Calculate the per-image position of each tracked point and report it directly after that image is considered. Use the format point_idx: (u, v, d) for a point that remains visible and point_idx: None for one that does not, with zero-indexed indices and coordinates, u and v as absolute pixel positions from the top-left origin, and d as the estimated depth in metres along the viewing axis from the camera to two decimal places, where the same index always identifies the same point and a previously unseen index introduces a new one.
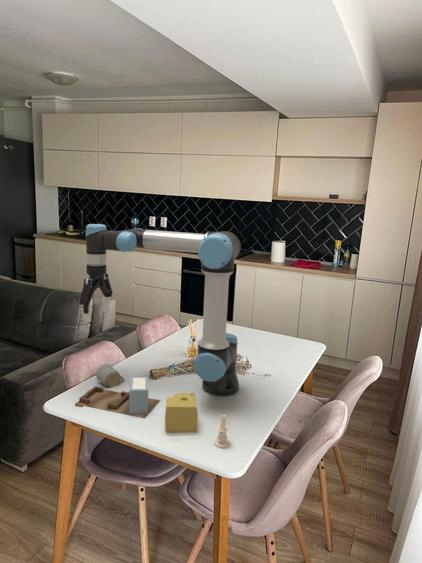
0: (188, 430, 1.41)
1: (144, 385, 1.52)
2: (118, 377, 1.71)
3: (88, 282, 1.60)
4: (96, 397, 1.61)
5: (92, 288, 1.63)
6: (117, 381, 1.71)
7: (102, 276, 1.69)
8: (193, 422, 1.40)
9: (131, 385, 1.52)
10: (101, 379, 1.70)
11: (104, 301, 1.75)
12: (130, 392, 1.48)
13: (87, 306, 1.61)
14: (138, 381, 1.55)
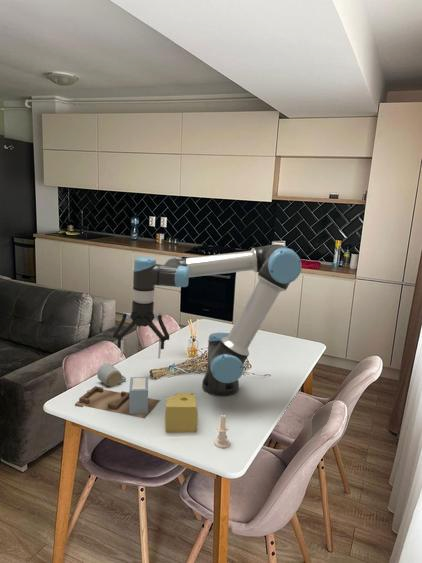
0: (188, 430, 1.41)
1: (144, 385, 1.52)
2: (119, 377, 1.71)
3: None
4: (96, 397, 1.61)
5: (130, 324, 1.52)
6: (118, 381, 1.71)
7: (149, 316, 1.52)
8: (193, 422, 1.40)
9: (131, 385, 1.52)
10: (102, 379, 1.70)
11: None
12: (130, 392, 1.48)
13: (119, 340, 1.53)
14: (138, 381, 1.55)
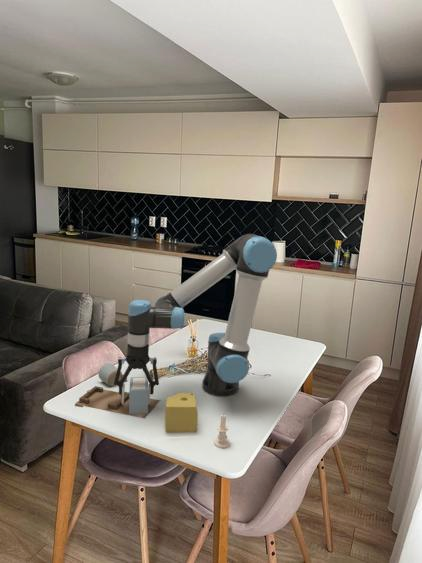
0: (188, 430, 1.41)
1: (144, 385, 1.52)
2: (120, 376, 1.72)
3: (118, 362, 1.50)
4: (96, 397, 1.61)
5: (127, 369, 1.51)
6: (119, 380, 1.72)
7: (145, 358, 1.51)
8: (193, 422, 1.40)
9: (131, 385, 1.52)
10: (103, 378, 1.70)
11: None
12: (130, 392, 1.48)
13: (120, 387, 1.52)
14: (138, 381, 1.55)
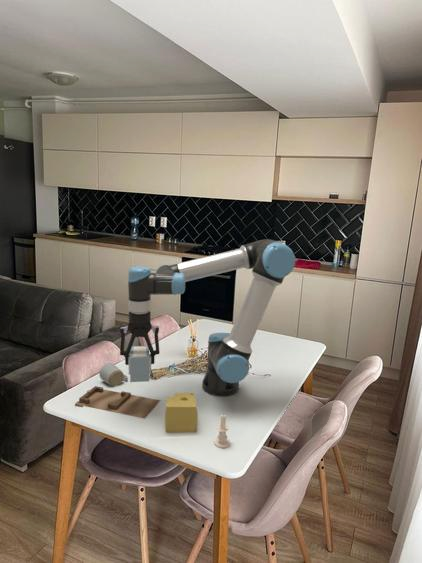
0: (188, 430, 1.41)
1: (145, 353, 1.50)
2: (121, 376, 1.72)
3: None
4: (96, 397, 1.61)
5: (131, 338, 1.49)
6: (120, 380, 1.72)
7: (147, 325, 1.49)
8: (193, 422, 1.40)
9: (132, 353, 1.49)
10: (104, 378, 1.71)
11: None
12: (131, 359, 1.46)
13: (126, 357, 1.50)
14: (138, 349, 1.53)
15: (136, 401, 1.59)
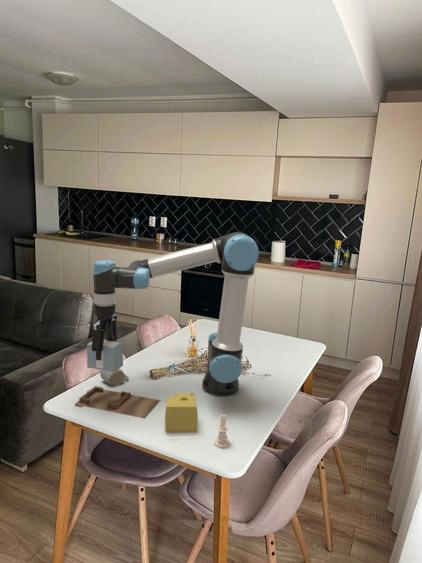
0: (188, 430, 1.41)
1: (112, 342, 1.56)
2: (122, 376, 1.72)
3: (97, 328, 1.47)
4: (96, 397, 1.61)
5: (102, 332, 1.51)
6: (121, 380, 1.72)
7: (111, 315, 1.55)
8: (193, 422, 1.40)
9: (105, 346, 1.52)
10: (105, 378, 1.71)
11: None
12: (114, 350, 1.51)
13: (100, 353, 1.51)
14: None
15: (136, 401, 1.59)
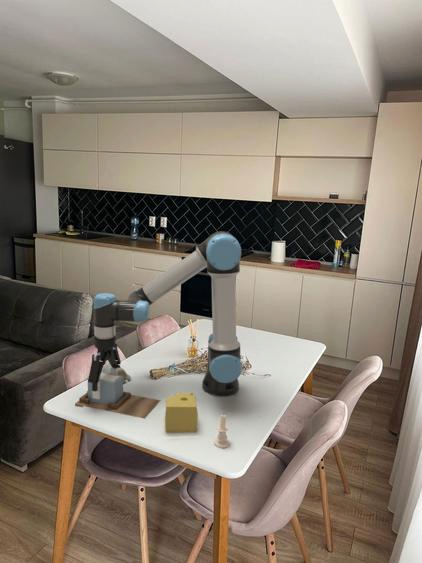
0: (188, 430, 1.41)
1: (112, 375, 1.59)
2: (124, 375, 1.73)
3: (96, 358, 1.49)
4: None
5: (101, 363, 1.52)
6: (123, 379, 1.73)
7: (111, 347, 1.57)
8: (193, 422, 1.40)
9: (105, 380, 1.55)
10: None
11: (112, 373, 1.63)
12: (115, 384, 1.54)
13: (96, 384, 1.50)
14: (101, 376, 1.58)
15: (136, 401, 1.59)
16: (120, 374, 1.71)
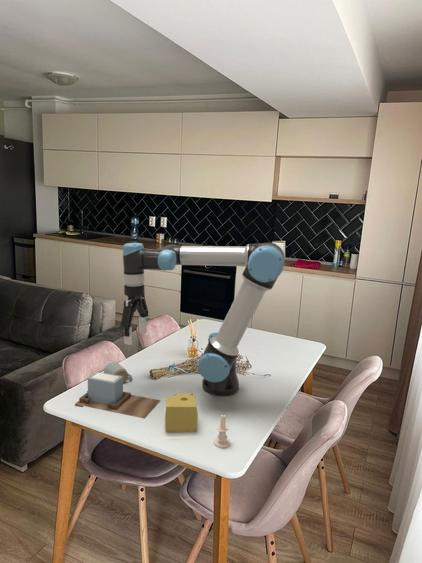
0: (188, 430, 1.41)
1: (112, 375, 1.59)
2: (125, 375, 1.73)
3: (128, 304, 1.54)
4: None
5: (132, 310, 1.57)
6: (124, 379, 1.73)
7: (140, 296, 1.62)
8: (193, 422, 1.40)
9: (105, 380, 1.55)
10: None
11: (141, 322, 1.69)
12: (115, 384, 1.54)
13: (128, 329, 1.55)
14: (101, 376, 1.58)
15: (136, 401, 1.59)
16: (121, 374, 1.72)
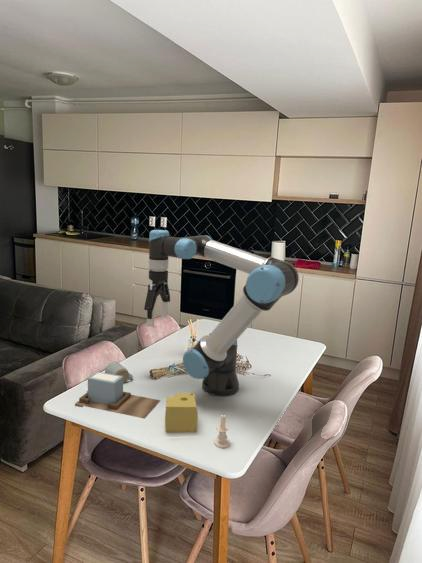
0: (188, 430, 1.41)
1: (112, 375, 1.59)
2: (126, 375, 1.73)
3: (152, 288, 1.61)
4: None
5: (155, 294, 1.64)
6: (125, 378, 1.74)
7: (163, 281, 1.69)
8: (193, 422, 1.40)
9: (105, 380, 1.55)
10: None
11: (163, 306, 1.76)
12: (115, 384, 1.54)
13: (151, 312, 1.62)
14: (101, 376, 1.58)
15: (136, 401, 1.59)
16: (122, 373, 1.72)
